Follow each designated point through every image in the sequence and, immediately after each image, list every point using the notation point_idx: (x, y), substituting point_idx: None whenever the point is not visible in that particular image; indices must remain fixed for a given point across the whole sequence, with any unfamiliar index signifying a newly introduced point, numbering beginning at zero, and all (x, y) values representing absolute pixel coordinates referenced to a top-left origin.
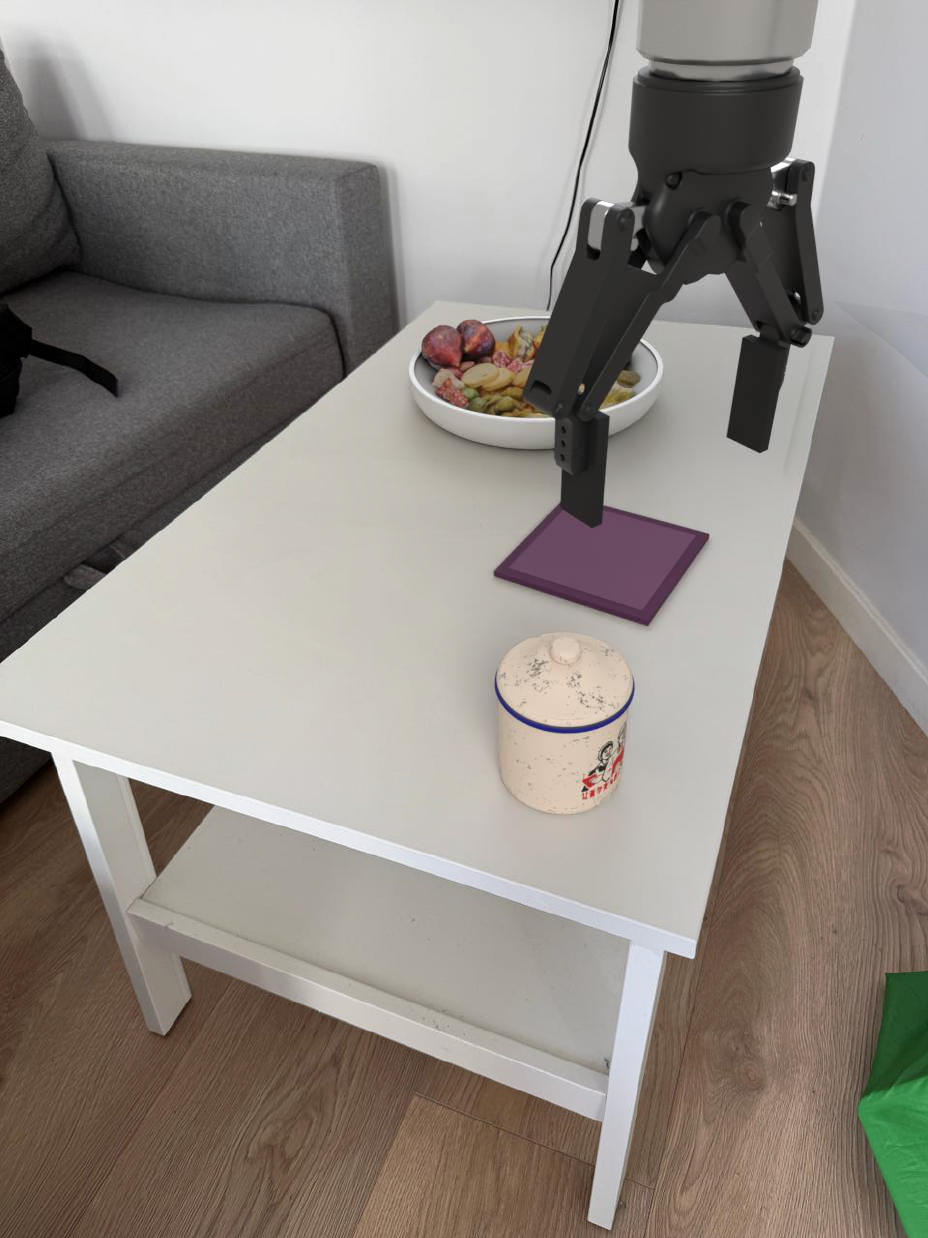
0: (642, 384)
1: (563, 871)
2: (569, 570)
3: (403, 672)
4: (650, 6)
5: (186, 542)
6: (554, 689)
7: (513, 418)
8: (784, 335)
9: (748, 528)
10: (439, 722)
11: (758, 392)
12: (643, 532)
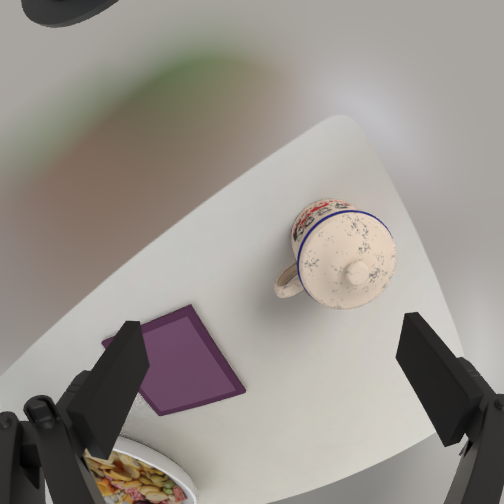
0: None
1: (375, 177)
2: (203, 369)
3: (346, 350)
4: None
5: (359, 465)
6: (377, 250)
7: (162, 470)
8: (65, 429)
9: (76, 332)
10: (358, 307)
11: (117, 383)
12: None
